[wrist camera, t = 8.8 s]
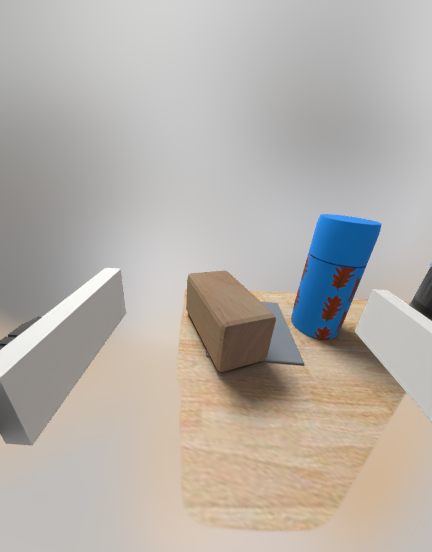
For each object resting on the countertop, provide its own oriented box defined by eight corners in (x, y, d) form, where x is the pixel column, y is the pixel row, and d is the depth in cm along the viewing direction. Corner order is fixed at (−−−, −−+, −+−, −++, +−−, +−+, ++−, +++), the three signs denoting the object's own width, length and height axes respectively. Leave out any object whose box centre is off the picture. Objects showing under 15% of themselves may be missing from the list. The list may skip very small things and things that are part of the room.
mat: (277, 304, 59) (277, 303, 59) (303, 364, 40) (304, 363, 40) (211, 298, 59) (211, 297, 58) (206, 356, 39) (206, 354, 39)
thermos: (289, 308, 58) (315, 212, 47) (332, 317, 55) (369, 218, 45) (291, 333, 48) (324, 219, 38) (343, 345, 46) (394, 227, 35)
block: (279, 315, 35) (226, 268, 51) (224, 326, 31) (186, 272, 48) (268, 361, 39) (222, 304, 56) (217, 376, 35) (185, 310, 52)
